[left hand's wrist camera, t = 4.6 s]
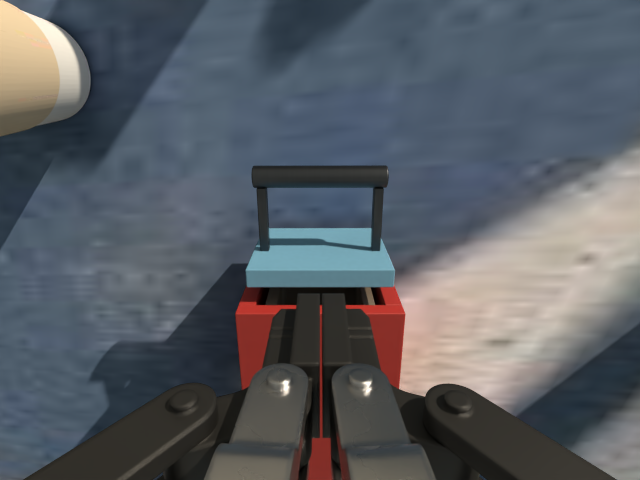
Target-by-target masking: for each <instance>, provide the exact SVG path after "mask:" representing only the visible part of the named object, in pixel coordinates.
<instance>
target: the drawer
mask: <svg viewBox="0 0 640 480" xmlns="http://www.w3.org/2000/svg"><path fill="white" fill-rule="evenodd" d="M388 177H389V173H388V167H387V166H253V168H252V184H253V187H254V188H257V204H258V221H259V240H258V243H257V245H256V247H255V250H254V252H253V254H252V257H251V259H250V261H249V263H248V266H247V268H246V284H247V287H270V289H269V293H268V296H267V300H266V304H265V305H296V304H297V295H298V294H320V305H322V294H344V296H345V304H346V305H375V302H374V299H373V295H372V291H371V287H394V275H395V269H394V267H393V265H392V262H391V260H390V258H389V255H388V253H387V251H386V248H385V246H384V244H383V241H382V239H381V227H382V209H383V191H384V189H383V188H386V187H387V185H388ZM267 188H373V204H372V226H371V228H269V218H268V198H267Z"/></svg>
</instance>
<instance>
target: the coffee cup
mask: <svg viewBox="0 0 640 480" xmlns="http://www.w3.org/2000/svg"><path fill="white" fill-rule="evenodd" d="M90 85H91V77H90V70H89V66H88V62H87V60H86V57H85V55H84V53H83V51H82V49H81V48H80V46H79V45H78V44H77V42H76V41H75V40H74V39H73V38H72V37H71V36H70V35H69V34H68V33H67V32H66V31H65V30H63V29H62V28H60V27H59V26H57V25H55V24H53V23H51V22H49V21H46V20H44V19H41V18H39V17H36V16H34V15H31V14H29V13H26V12H24V11H21V10H20V9H18V8H16V7H15V6H13V5H11V4H9V3H7V2H5V1H3V0H0V136H4V135H8V134H12V133H16V132H20V131H24V130H28V129H30V128H33V127H35V126H38V125H42V124H47V123H51V122H56V121H60V120H64V119H67V118H69V117H71V116H73V115H74V114H76V113H77V112H78V111H79V110H80V109H81V108H82V107H83V105H84V104H85V102H86V100H87V98H88V95H89V91H90Z"/></svg>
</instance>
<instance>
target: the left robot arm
mask: <svg viewBox="0 0 640 480" xmlns="http://www.w3.org/2000/svg"><path fill="white" fill-rule="evenodd" d="M322 437H323V438H330V442H331V476H332V480H483V479H482V478H480V477H479V474H481V475H482V476H483V477H484V478H486V479H487V480H616V479H615V478H613V477H612V476H610V475H608V474H607V473H605V472H604V471H602V470H600V469H599V468H597V467H595V466H594V465H592V464H591V463H589V462H587V461H586V460H584V459H583V458H581V457H579V456H578V455H576V454H574V453H573V452H571V451H570V450H568V449H566V448H565V447H563V446H562V445H560V444H558V443H557V442H555V441H553V440H552V439H550V438H549V437H547V436H545V435H544V434H542V433H541V432H539V431H537V430H536V429H534V428H532V427H531V426H529V425H528V424H526V423H524V422H523V421H521V420H520V419H518V418H516V417H515V416H513V415H511V414H510V413H508V412H507V411H505V410H503V409H502V408H500V407H499V406H497V405H495V404H494V403H492V402H490V401H489V400H487V399H486V398H484V397H482V396H481V395H479V394H478V393H476V392H474V391H472V390H471V389H468V388H466V387H463V386H460V385H456V384H440V385H437V386H434V387H432V388H431V389H430V390H428V392H427V393H426V396H425V397H424V396H420V395H415V394H411V393H408V392H405V391H402V390H400V389H398V388H396V387H394V386H393V385H391V384H390V382H389V379H388V377H387V376H386V375H385V374H384V373H383V372H382V371H381V368H380V363H379V359H378V354H377V350H376V345H375V341H374V336H373V332H372V327H371V323H370V318H369V317H368V316H367V315H366V314H365V313H364V312H363V310H362V309H346V304H345V296H344V294H322ZM312 438H320V294H298V295H297V304H296V309H280V311H279V312H278V313H277V314H276V315H275V316H274V317H273V318H272V323H271V328H270V332H269V339H268V342H267V347H266V351H265V356H264V361H263V365H262V369H260V370H259V371H258V372H257V373H255V375H254V376H253V377H252V379H251V382H250V385H249V387H247V388H245V389H243V390H241V391H239V392H235V393H232V394H228V395H224V396H220V397H216V394H215V392H214V390H213V389H212V388H211V387H209V386H207V385H205V384H201V383H186V384H182V385H178V386H176V387H173V388H171V389H169V390H167V391H166V392H164V393H163V394H161V395H159V396H158V397H156V398H154V399H153V400H151V401H150V402H148V403H146V404H145V405H143V406H142V407H140V408H138V409H137V410H135V411H133V412H132V413H130V414H129V415H127V416H125V417H124V418H122V419H121V420H119V421H117V422H116V423H114V424H112V425H111V426H109V427H108V428H106V429H104V430H103V431H101V432H100V433H98V434H96V435H95V436H93V437H91V438H90V439H88V440H87V441H85V442H83V443H82V444H80V445H79V446H77V447H75V448H74V449H72V450H70V451H69V452H67V453H66V454H64V455H62V456H61V457H59V458H58V459H56V460H54V461H53V462H51V463H49V464H48V465H46V466H45V467H43V468H41V469H40V470H38V471H37V472H35V473H33V474H32V475H30V476H28V477H27V478H25V479H24V480H153V479H154V478H156V477H157V476H158V475H160V474H161V473H162V472H163V475H162V476H161V477H160V478H158V479H157V480H308V476H309V460H310V457H311V454H312Z"/></svg>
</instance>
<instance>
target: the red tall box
mask: <svg viewBox="0 0 640 480" xmlns="http://www.w3.org/2000/svg"><path fill="white" fill-rule="evenodd" d="M269 289H270V287H247V285H246V288H245V290H244V293H243V295H242V298H241V300H240V303H239V306H238V308H237V311H236V313H235V318H236V329H237V340H238V352H239V363H240V374H241V386H242V390H243V389H245V388H247V387H249V385H250V382H251V379H252V377H253V376H254V375H255V373H257V372H258V371H259V370H260V369H262V365H263V361H264V356H265V351H266V347H267V342H268V339H269V332H270V328H271V323H272V318H273V317H274V316H275V315H276V314H277V313H278V312H279V311H280V309H296V305H265V304H266V300H267V296H268V293H269ZM371 291H372V295H373V299H374V302H375V305H346V309H362V310H363V312H364V313H365V314H366V315H367V316H368V317H369V318H370V323H371V327H372V332H373V336H374V341H375V345H376V350H377V354H378V359H379V363H380V368H381V371H382V372H383V373H384V374H385V375H386V376H387V377H388V379H389V382H390V384H391V385H393V386H394V387H396V388H398V389H399V382H400V370H401V359H402V347H403V335H404V323H405V312H404V309H403V307H402V304H401V302H400V299H399V297H398V294H397V292H396V289H395V286H394V287H371ZM308 480H332V476H331V442H330V438H323V437H322V305H320V438H312V454H311V457H310V460H309V476H308Z"/></svg>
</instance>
